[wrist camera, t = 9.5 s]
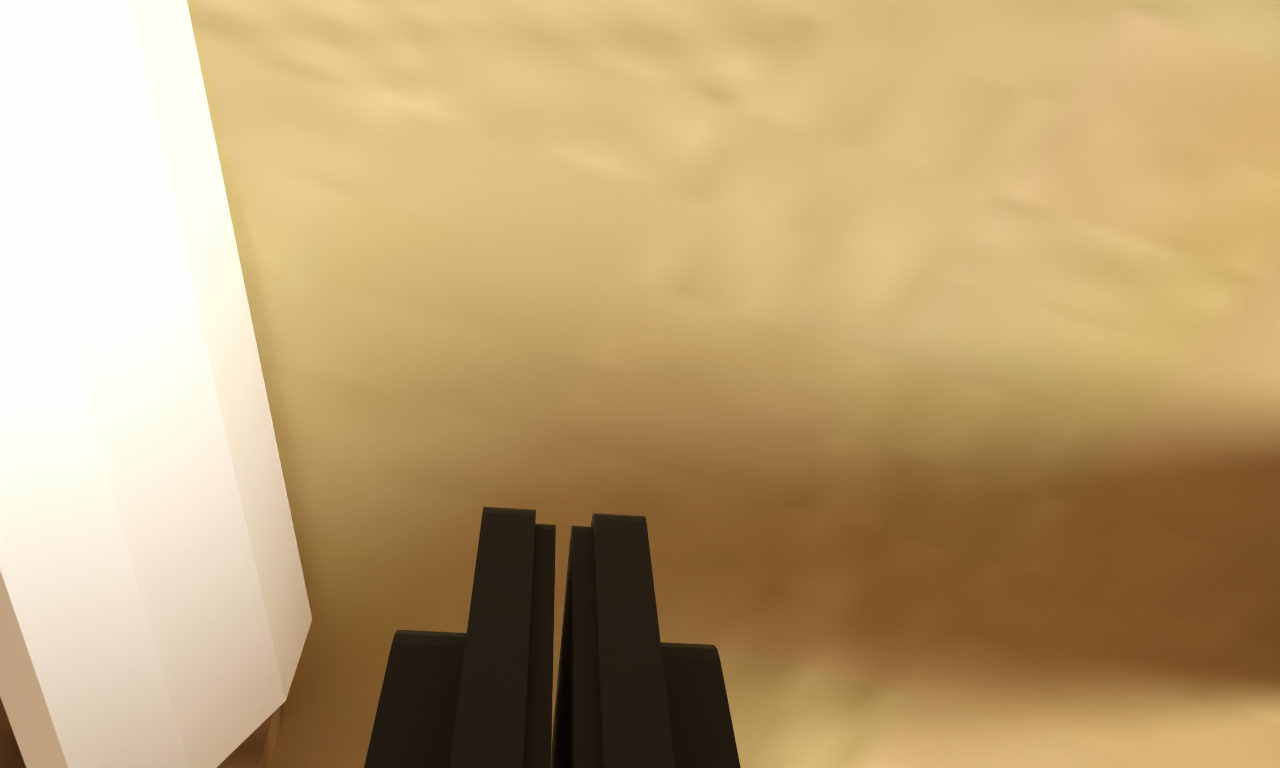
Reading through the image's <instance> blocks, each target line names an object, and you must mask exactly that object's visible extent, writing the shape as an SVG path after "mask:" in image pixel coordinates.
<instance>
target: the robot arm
mask: <svg viewBox="0 0 1280 768" xmlns="http://www.w3.org/2000/svg"><path fill="white" fill-rule="evenodd" d="M535 516H536V510H527V509H510V508H492V507H484V508H483V514H482V522H481V530H480V537H479V545H478V552H477V560H476V568H475V575H474V583H473V591H472V598H471V606H470V613H469V621H468V629H467V633H451V632H430V631H409V630H397V631H396V633H395V635H394V639H393V642H392V646H391V651H390V655H389V660H388V664H387V668H386V673H385V677H384V682H383V686H382V691H381V695H380V700H379V704H378V708H377V713H376V717H375V722H374V726H373V731H372V735H371V740H370V744H369V748H368V753H367V757H366V762H365V766H364V768H740V763H739V757H738V752H737V747H736V742H735V736H734V731H733V726H732V720H731V715H730V710H729V705H728V699H727V694H726V689H725V683H724V678H723V673H722V668H721V662H720V658H719V654H718V650H717V648H716V647H715V646H714V645H702V644H681V643H660V634H659V626H658V617H657V609H656V600H655V592H654V583H653V574H652V566H651V557H650V549H649V540H648V532H647V523H646V518H645V517H644V516H630V515H613V514H596V513H593V516H592V522H591V527H581V526H572V529H571V538H570V548H569V559H568V571H567V582H566V593H565V604H564V615H563V626H562V637H561V648H560V659H559V671H558V682H557V693H556V704H555V715H554V726H553V740H552V759H551V739H552V687H553V635H554V584H555V532H556V526H555V525H546V524H535Z"/></svg>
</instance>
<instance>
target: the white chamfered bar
mask: <svg viewBox="0 0 1280 768" xmlns="http://www.w3.org/2000/svg"><path fill="white" fill-rule="evenodd" d="M311 622H312V615H311V611H310V606H309V601H308V596H307V591H306V586H305V581H304V576H303V571H302V566H301V561H300V556H299V551H298V546H297V542H296V537H295V532H294V527H293V522H292V517H291V512H290V507H289V502H288V497H287V492H286V487H285V482H284V477H283V472H282V468H281V463H280V458H279V453H278V448H277V443H276V438H275V433H274V428H273V423H272V418H271V413H270V408H269V403H268V399H267V394H266V389H265V384H264V379H263V374H262V369H261V364H260V359H259V354H258V349H257V344H256V339H255V334H254V330H253V325H252V320H251V315H250V310H249V305H248V300H247V295H246V290H245V285H244V280H243V275H242V270H241V265H240V260H239V256H238V251H237V246H236V241H235V236H234V231H233V226H232V221H231V216H230V211H229V206H228V201H227V196H226V191H225V187H224V182H223V177H222V172H221V167H220V162H219V157H218V152H217V147H216V142H215V137H214V132H213V127H212V122H211V118H210V113H209V108H208V103H207V98H206V93H205V88H204V83H203V78H202V73H201V68H200V63H199V58H198V53H197V48H196V44H195V39H194V34H193V29H192V24H191V19H190V14H189V9H188V4H187V0H0V697H1V700H2V703H3V705H4V708H5V711H6V714H7V716H8V719H9V722H10V725H11V727H12V730H13V733H14V735H15V738H16V741H17V744H18V746H19V749H20V752H21V755H22V757H23V760H24V763H25V766H26V768H217V767H218V766H219V765H220V764H221V763H222V762H223V761H224V760H225V759H226V758H227V757H228V756H229V755H230V754H231V753H232V752H233V751H234V750H235V749H236V748H237V747H238V746H239V745H240V744H241V743H242V742H243V741H244V740H246V739H247V738H248V737H249V736H250V735H251V734H252V733H253V732H254V731H255V730H256V729H257V728H258V727H259V726H260V725H261V724H262V723H263V722H264V721H265V720H266V719H267V718H268V717H269V716H270V715H271V714H272V713H274V712H275V711H276V710H277V709H278V708H279V707H280V706H281V705H282V704H283V703H284V702H285V701H286V699H287V695H288V692H289V689H290V686H291V683H292V680H293V677H294V674H295V671H296V668H297V665H298V662H299V659H300V656H301V653H302V650H303V647H304V644H305V640H306V637H307V634H308V631H309V628H310V625H311Z"/></svg>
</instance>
